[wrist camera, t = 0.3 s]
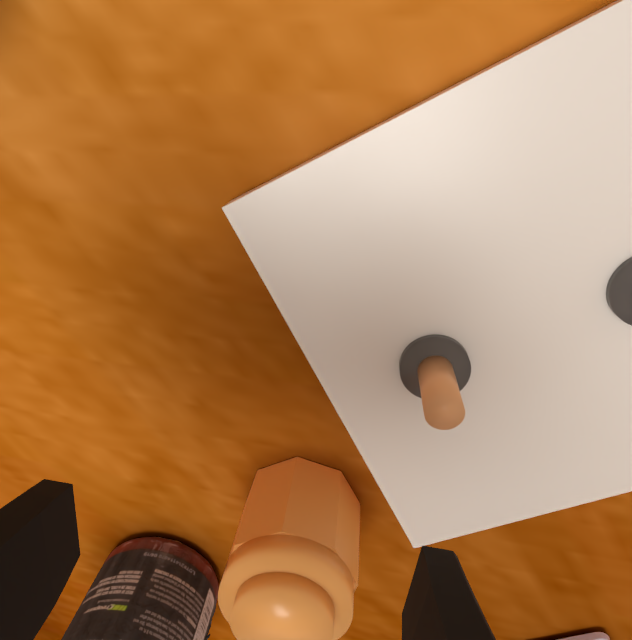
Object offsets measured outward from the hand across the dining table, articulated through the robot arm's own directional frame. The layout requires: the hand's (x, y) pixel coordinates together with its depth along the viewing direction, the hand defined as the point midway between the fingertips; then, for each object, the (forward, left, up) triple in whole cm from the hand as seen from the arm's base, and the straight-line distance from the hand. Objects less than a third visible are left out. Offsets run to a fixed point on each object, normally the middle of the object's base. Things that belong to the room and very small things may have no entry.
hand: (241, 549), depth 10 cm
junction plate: (-2, -7, -10) cm, 12 cm away
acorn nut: (-7, +4, -10) cm, 13 cm away
